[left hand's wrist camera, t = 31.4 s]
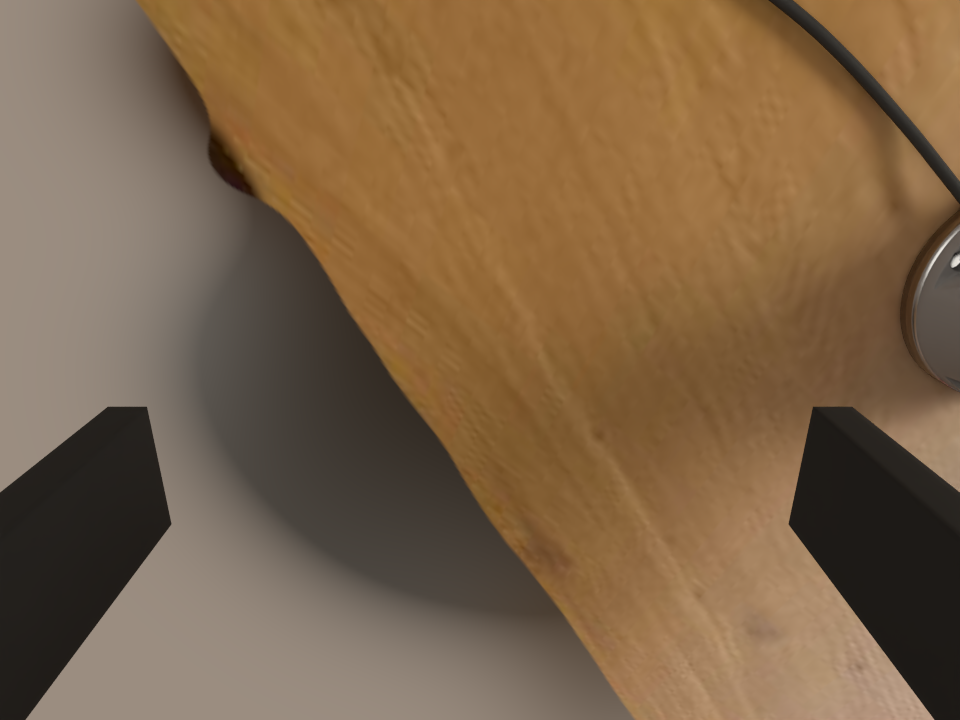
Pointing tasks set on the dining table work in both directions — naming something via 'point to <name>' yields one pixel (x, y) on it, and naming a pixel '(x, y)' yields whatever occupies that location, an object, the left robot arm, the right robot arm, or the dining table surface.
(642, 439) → the dining table surface
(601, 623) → the dining table surface
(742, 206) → the dining table surface
